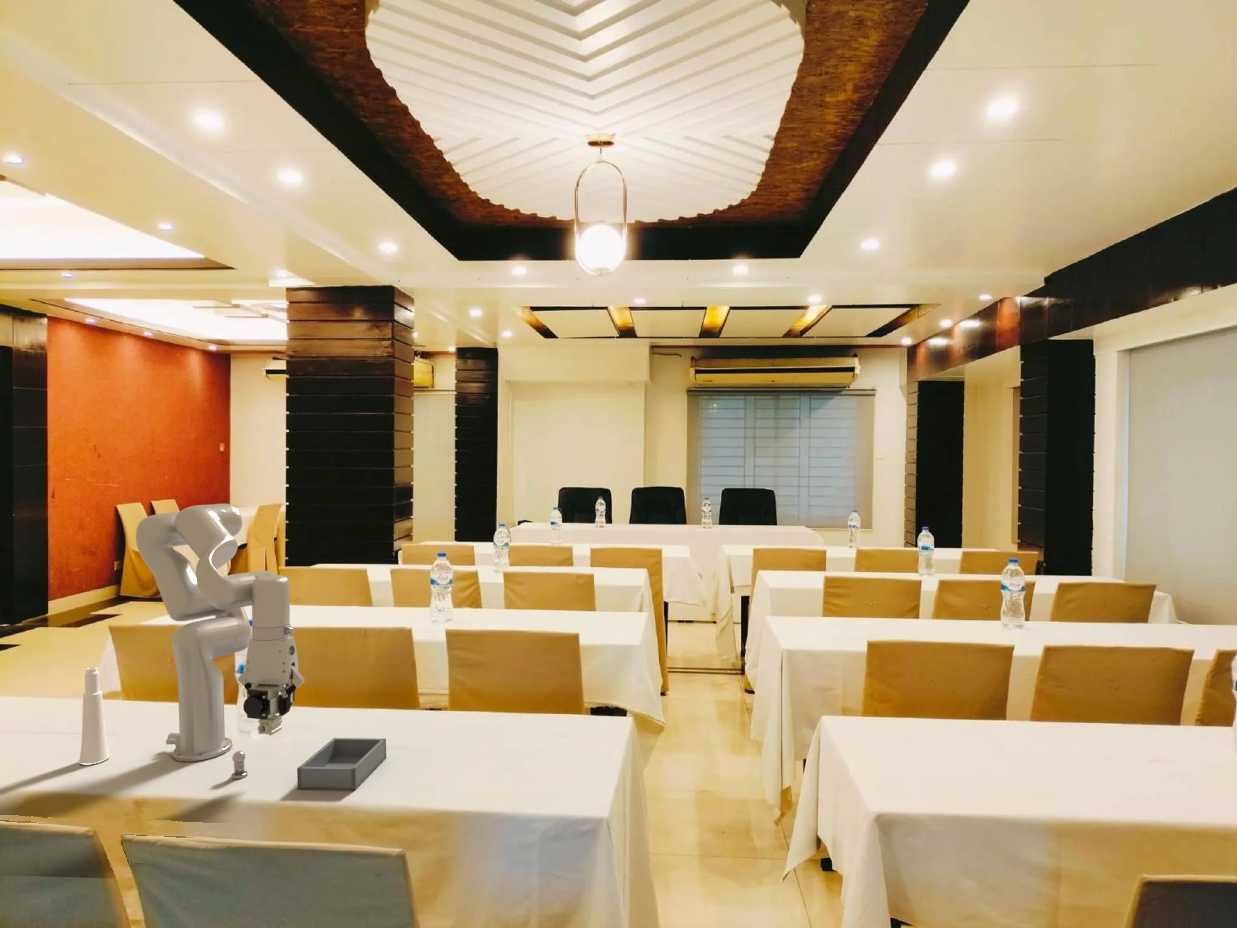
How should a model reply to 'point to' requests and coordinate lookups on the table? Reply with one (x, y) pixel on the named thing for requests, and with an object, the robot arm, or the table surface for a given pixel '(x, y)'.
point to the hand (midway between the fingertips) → (271, 712)
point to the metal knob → (239, 765)
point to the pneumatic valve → (265, 707)
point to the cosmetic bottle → (93, 721)
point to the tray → (342, 764)
